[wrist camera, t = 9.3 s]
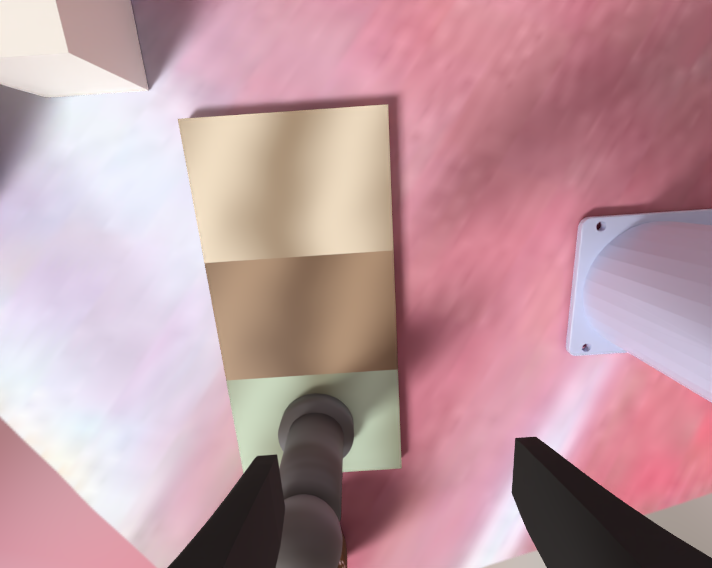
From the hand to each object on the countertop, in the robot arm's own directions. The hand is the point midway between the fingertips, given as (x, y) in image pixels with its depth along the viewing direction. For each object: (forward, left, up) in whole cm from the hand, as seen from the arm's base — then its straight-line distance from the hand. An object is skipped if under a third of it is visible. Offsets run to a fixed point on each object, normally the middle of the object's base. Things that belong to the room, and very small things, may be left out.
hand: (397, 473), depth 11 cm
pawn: (+4, +5, -10) cm, 12 cm away
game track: (+4, -2, -10) cm, 11 cm away
